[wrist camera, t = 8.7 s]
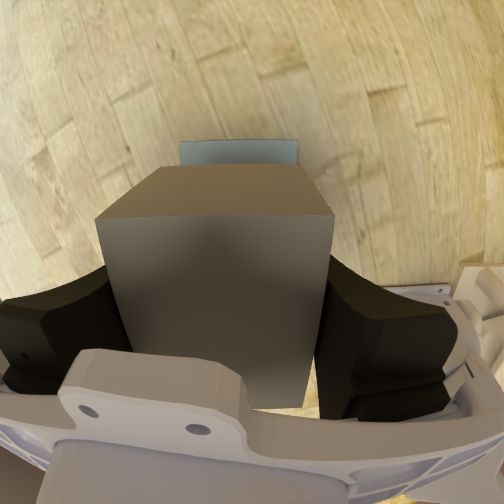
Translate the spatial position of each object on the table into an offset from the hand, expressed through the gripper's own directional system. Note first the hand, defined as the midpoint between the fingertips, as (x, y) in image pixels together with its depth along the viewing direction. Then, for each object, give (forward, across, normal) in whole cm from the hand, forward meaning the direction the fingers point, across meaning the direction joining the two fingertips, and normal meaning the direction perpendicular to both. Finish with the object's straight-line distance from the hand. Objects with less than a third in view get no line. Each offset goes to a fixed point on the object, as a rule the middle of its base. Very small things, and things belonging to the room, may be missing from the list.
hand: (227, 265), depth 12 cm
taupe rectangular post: (+2, 0, 0) cm, 2 cm away
